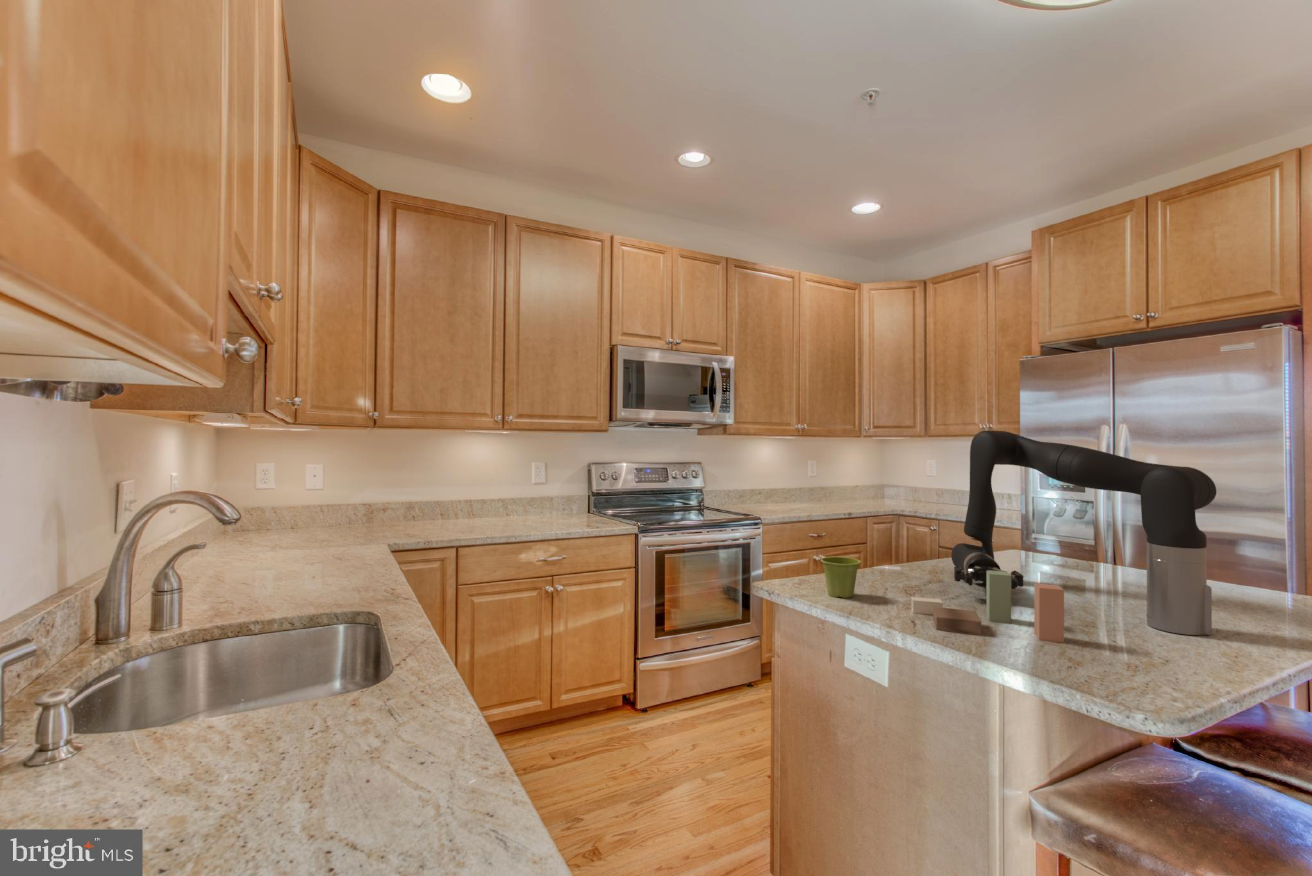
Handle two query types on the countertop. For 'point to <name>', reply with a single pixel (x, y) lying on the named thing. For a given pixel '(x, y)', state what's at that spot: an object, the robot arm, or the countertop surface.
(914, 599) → the cream brick
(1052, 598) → the terracotta block
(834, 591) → the object
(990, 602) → the sage block
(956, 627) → the walnut brick
